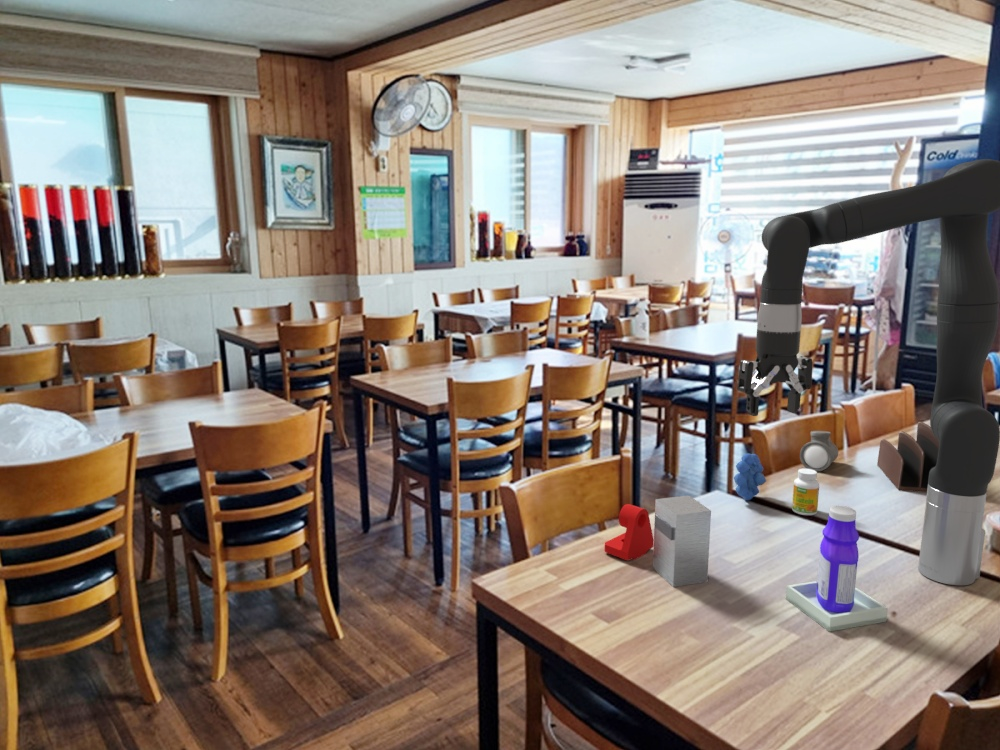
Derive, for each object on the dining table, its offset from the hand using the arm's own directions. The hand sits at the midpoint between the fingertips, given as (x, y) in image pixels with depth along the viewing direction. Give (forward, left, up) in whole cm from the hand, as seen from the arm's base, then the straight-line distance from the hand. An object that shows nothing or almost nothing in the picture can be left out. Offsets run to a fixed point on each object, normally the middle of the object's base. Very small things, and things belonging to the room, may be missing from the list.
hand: (772, 413), depth 138 cm
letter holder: (-65, -31, -30) cm, 78 cm away
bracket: (+23, -12, -30) cm, 40 cm away
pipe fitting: (-50, -46, -30) cm, 75 cm away
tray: (-1, +19, -30) cm, 36 cm away
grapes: (-17, -29, -30) cm, 45 cm away
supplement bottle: (-25, -20, -30) cm, 44 cm away
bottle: (-1, +19, -30) cm, 35 cm away
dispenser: (+18, 0, -30) cm, 35 cm away
